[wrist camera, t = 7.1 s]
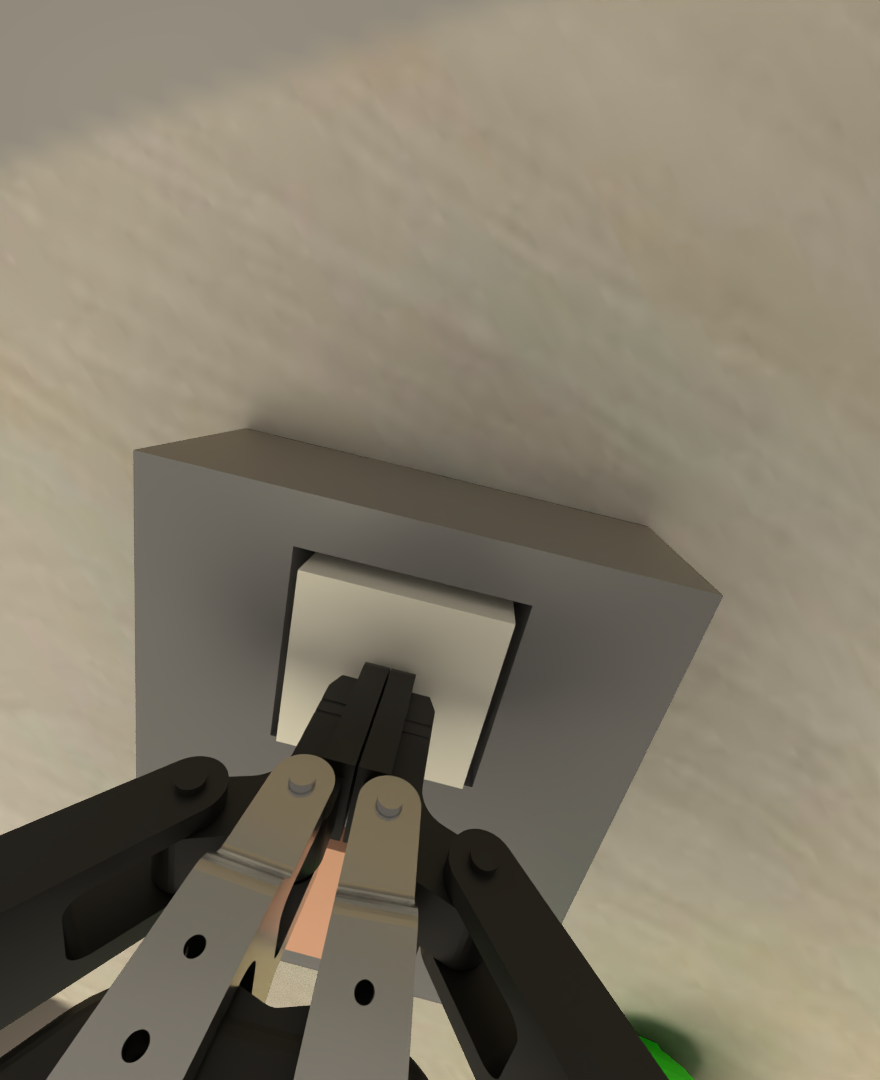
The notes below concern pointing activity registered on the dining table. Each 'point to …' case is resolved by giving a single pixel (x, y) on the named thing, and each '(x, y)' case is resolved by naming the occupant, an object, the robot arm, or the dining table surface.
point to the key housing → (430, 553)
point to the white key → (397, 649)
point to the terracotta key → (319, 903)
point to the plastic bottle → (666, 1062)
